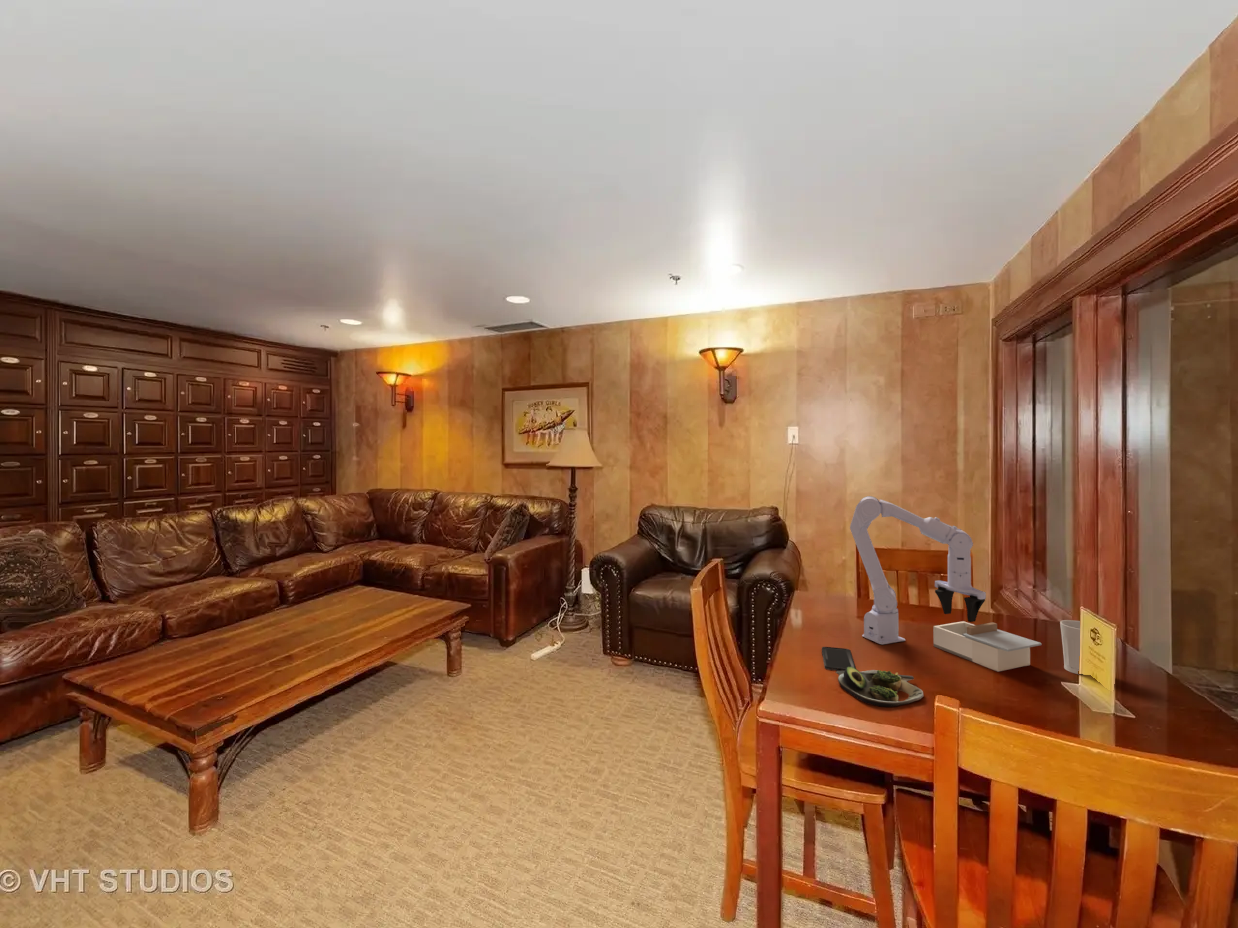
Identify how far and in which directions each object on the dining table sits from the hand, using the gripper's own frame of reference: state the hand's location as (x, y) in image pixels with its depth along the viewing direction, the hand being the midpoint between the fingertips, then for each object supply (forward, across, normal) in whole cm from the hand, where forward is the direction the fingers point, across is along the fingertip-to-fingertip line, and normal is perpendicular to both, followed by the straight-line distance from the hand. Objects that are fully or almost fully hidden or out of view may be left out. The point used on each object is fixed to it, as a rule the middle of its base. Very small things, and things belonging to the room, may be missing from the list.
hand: (959, 617), depth 152 cm
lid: (+3, -12, 0) cm, 12 cm away
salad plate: (+10, -12, +43) cm, 46 cm away
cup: (+9, -23, -14) cm, 28 cm away
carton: (+9, -6, 0) cm, 11 cm away
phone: (+10, +6, +39) cm, 40 cm away
